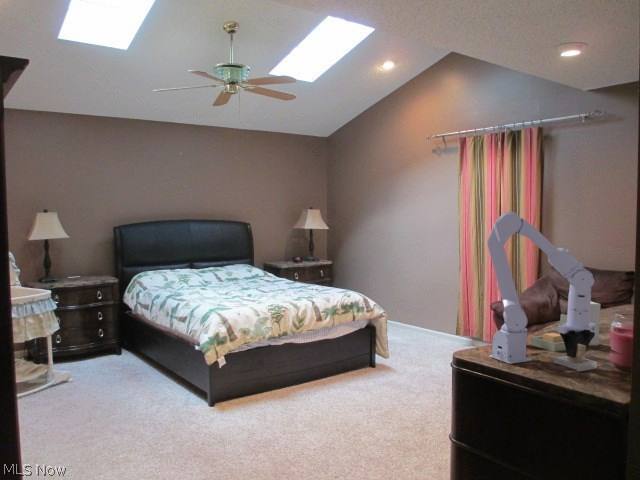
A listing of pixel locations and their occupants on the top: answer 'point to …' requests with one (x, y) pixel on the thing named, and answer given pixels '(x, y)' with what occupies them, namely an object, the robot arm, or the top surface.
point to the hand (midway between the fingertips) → (575, 356)
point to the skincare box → (594, 321)
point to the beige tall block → (579, 354)
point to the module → (552, 337)
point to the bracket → (576, 366)
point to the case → (548, 345)
